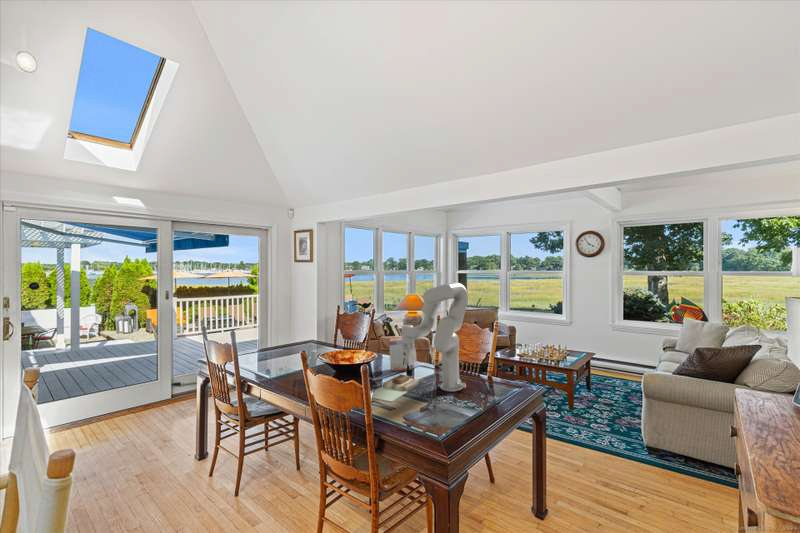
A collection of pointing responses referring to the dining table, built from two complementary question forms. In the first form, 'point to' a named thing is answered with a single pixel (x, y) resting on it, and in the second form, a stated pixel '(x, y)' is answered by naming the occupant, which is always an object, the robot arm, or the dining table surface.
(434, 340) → the robot arm
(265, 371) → the dining table surface
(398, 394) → the mat
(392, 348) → the cracker box
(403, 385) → the deck
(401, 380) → the tile
